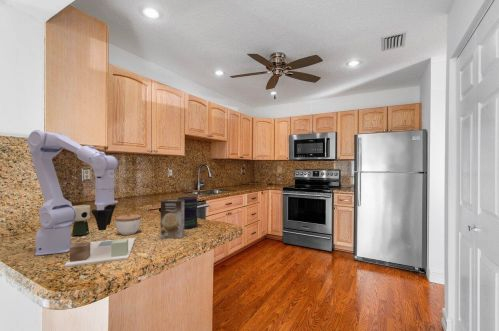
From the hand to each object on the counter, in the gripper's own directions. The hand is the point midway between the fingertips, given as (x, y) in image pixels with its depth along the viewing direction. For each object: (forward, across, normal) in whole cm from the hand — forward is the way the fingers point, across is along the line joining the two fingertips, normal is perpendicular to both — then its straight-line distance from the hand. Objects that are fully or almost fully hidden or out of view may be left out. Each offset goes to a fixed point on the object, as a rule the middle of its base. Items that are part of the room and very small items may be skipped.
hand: (104, 227), depth 84 cm
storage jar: (+9, +28, -32) cm, 43 cm away
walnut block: (+8, -5, +6) cm, 11 cm away
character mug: (+9, +31, +15) cm, 36 cm away
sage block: (+8, -5, -6) cm, 11 cm away
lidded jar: (+9, +26, -5) cm, 28 cm away
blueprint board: (+9, +3, 0) cm, 9 cm away
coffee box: (+9, +13, -24) cm, 29 cm away
